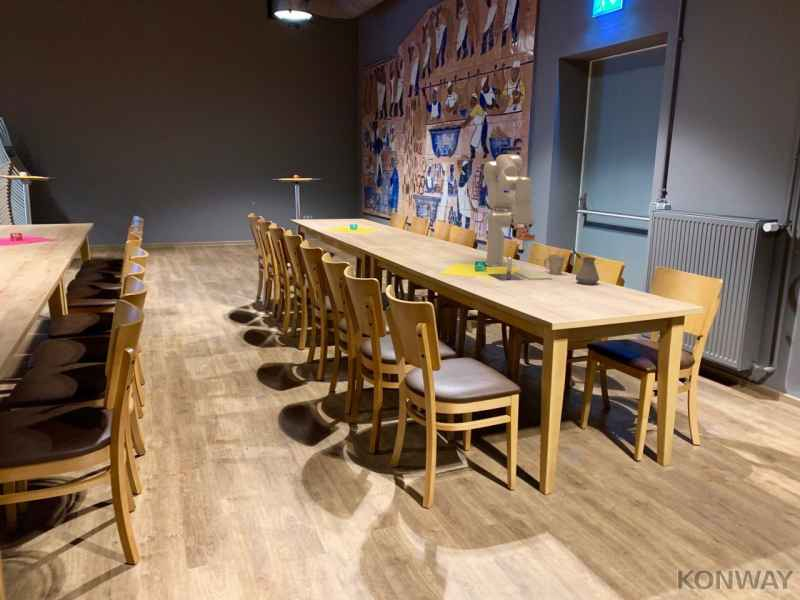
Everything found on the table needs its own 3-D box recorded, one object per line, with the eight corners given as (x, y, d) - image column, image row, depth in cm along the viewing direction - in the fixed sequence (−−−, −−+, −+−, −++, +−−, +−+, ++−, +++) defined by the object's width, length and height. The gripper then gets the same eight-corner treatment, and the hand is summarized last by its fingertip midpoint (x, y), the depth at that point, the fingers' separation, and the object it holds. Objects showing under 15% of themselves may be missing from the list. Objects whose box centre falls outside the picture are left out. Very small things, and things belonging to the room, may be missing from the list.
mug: (556, 275, 334) (558, 257, 332) (538, 272, 344) (539, 254, 341) (566, 274, 339) (567, 256, 337) (547, 270, 349) (548, 253, 347)
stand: (486, 276, 329) (488, 253, 326) (509, 275, 332) (511, 253, 329) (500, 282, 312) (501, 258, 309) (524, 281, 315) (525, 258, 312)
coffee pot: (603, 285, 311) (606, 255, 308) (583, 285, 308) (586, 255, 305) (579, 277, 331) (582, 249, 328) (560, 277, 328) (562, 249, 325)
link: (513, 237, 325) (513, 227, 324) (523, 237, 326) (523, 227, 325) (524, 240, 312) (524, 230, 310) (534, 240, 313) (535, 230, 312)
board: (513, 274, 334) (513, 271, 333) (533, 274, 337) (533, 270, 336) (529, 282, 315) (530, 278, 314) (551, 281, 318) (551, 277, 317)
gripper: (534, 201, 325) (532, 236, 329) (503, 201, 321) (501, 236, 325) (541, 202, 317) (538, 237, 322) (509, 202, 314) (507, 238, 318)
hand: (520, 236), depth 323 cm, fingers closed on link, 5 cm apart
